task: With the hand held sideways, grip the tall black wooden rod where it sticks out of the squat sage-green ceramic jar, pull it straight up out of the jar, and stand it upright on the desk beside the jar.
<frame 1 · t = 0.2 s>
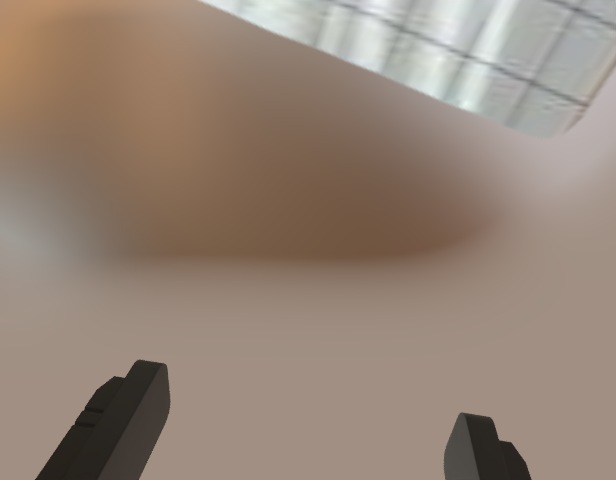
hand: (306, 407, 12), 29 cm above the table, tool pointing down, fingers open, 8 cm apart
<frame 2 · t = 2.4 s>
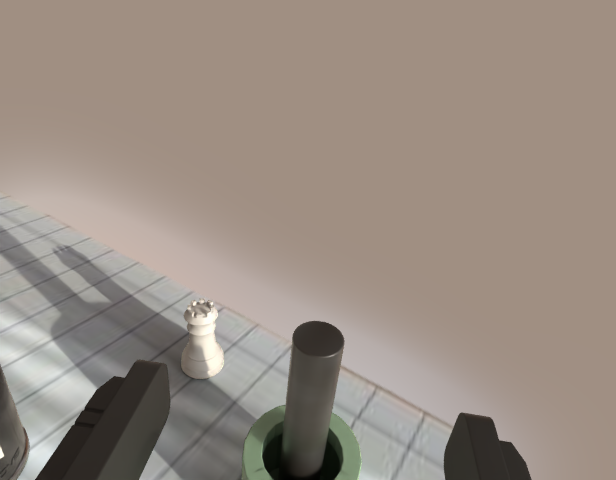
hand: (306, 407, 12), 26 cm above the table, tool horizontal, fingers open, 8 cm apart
rook chess piece: (203, 366, 47), on the table
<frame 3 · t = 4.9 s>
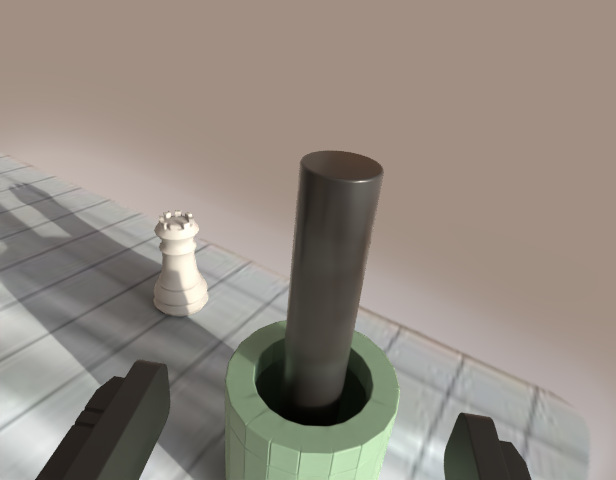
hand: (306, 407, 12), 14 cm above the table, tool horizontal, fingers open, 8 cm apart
rook chess piece: (181, 303, 37), on the table
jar: (299, 474, 25), on the table, touching rod
rod: (300, 468, 25), point 1 cm above the table, touching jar
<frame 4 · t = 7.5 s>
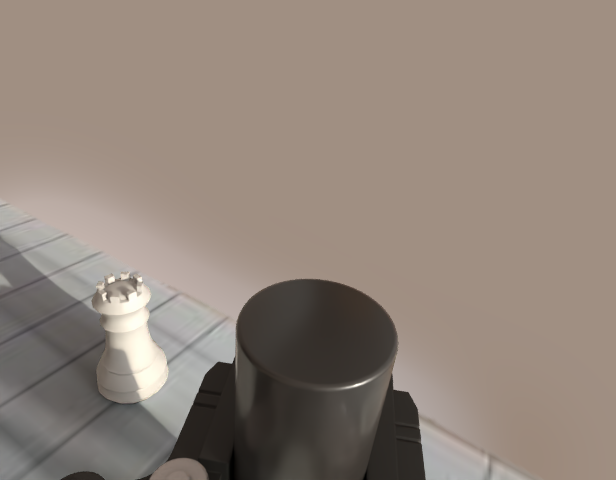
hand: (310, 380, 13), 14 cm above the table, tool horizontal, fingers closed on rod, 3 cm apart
rook chess piece: (134, 382, 30), on the table
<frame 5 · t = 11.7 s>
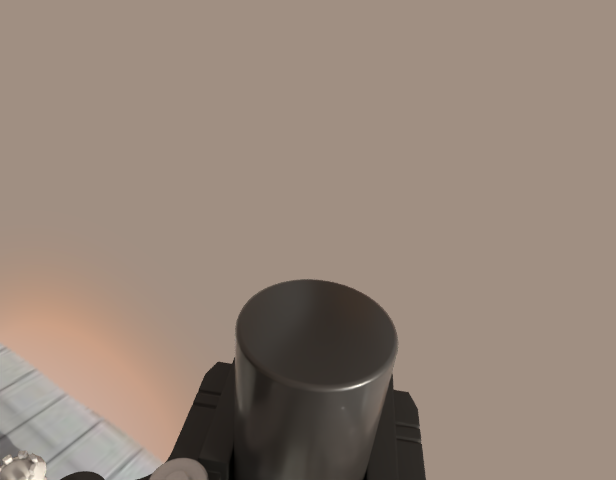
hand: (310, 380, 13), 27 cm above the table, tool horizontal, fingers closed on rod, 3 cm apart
when the fingers open (13 cm above the table, at t = 16.1 s): rod stays where it is, on the table.
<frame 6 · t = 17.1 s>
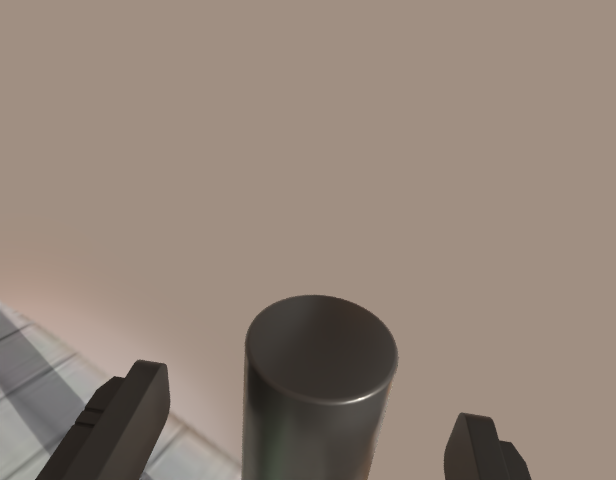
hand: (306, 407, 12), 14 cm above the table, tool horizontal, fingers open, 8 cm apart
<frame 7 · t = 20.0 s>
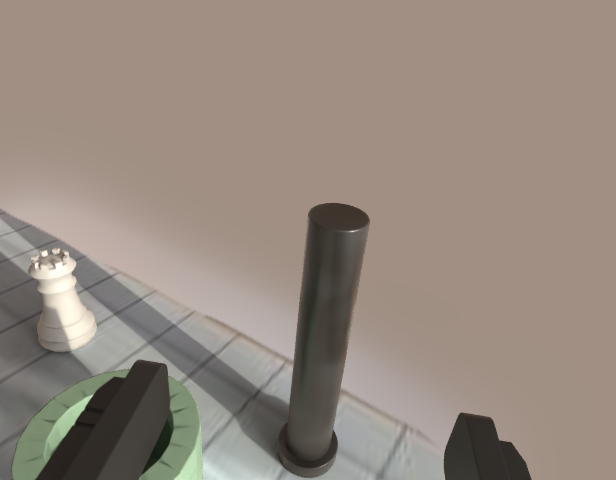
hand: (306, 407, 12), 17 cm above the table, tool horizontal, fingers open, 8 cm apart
rook chess piece: (69, 338, 38), on the table
rod: (307, 449, 30), on the table
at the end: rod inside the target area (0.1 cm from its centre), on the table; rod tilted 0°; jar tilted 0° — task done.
